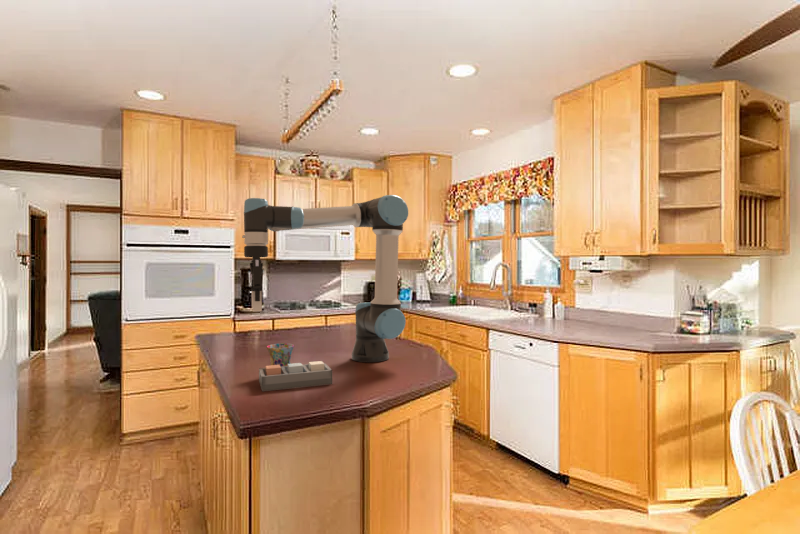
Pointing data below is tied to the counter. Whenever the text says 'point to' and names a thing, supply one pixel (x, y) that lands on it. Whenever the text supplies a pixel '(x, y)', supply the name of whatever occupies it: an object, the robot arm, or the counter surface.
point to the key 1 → (273, 370)
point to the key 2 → (316, 366)
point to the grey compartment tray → (294, 378)
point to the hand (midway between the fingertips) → (256, 309)
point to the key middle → (295, 368)
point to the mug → (280, 353)
